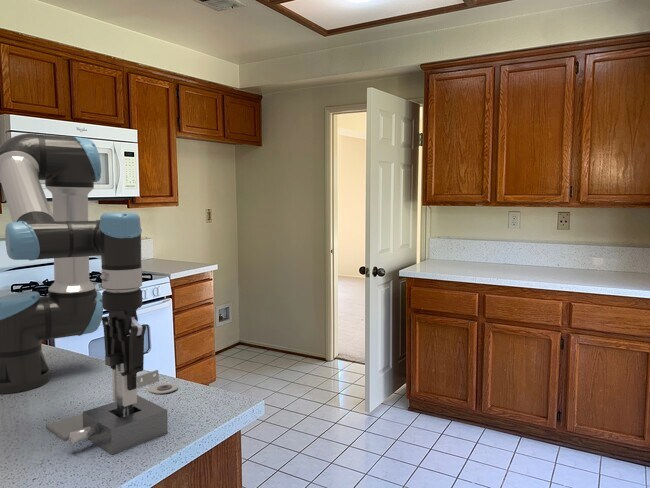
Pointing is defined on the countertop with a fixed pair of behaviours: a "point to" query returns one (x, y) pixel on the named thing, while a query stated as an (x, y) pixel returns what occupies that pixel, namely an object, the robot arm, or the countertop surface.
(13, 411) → the countertop surface
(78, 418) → the mat
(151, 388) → the bracket
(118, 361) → the chuck key
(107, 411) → the block
